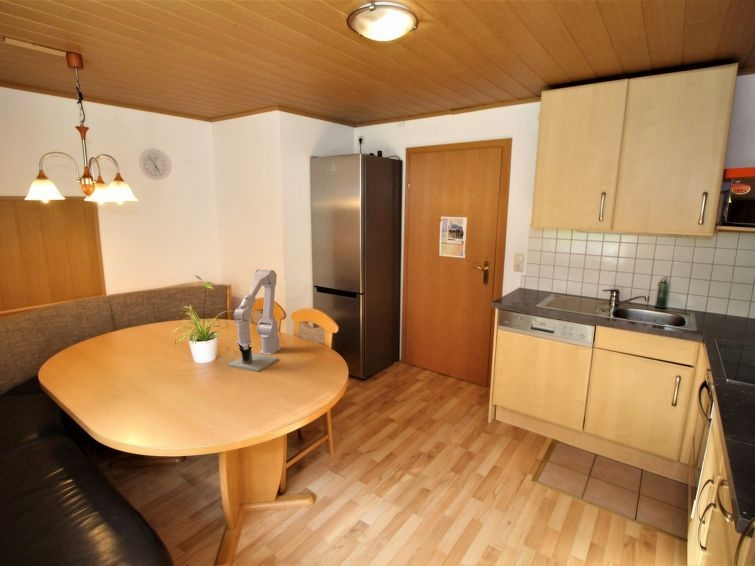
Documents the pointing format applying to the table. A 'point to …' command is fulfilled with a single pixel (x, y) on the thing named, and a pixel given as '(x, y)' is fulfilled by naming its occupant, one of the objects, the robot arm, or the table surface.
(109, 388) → the table surface
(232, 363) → the grey square plate
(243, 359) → the knob
